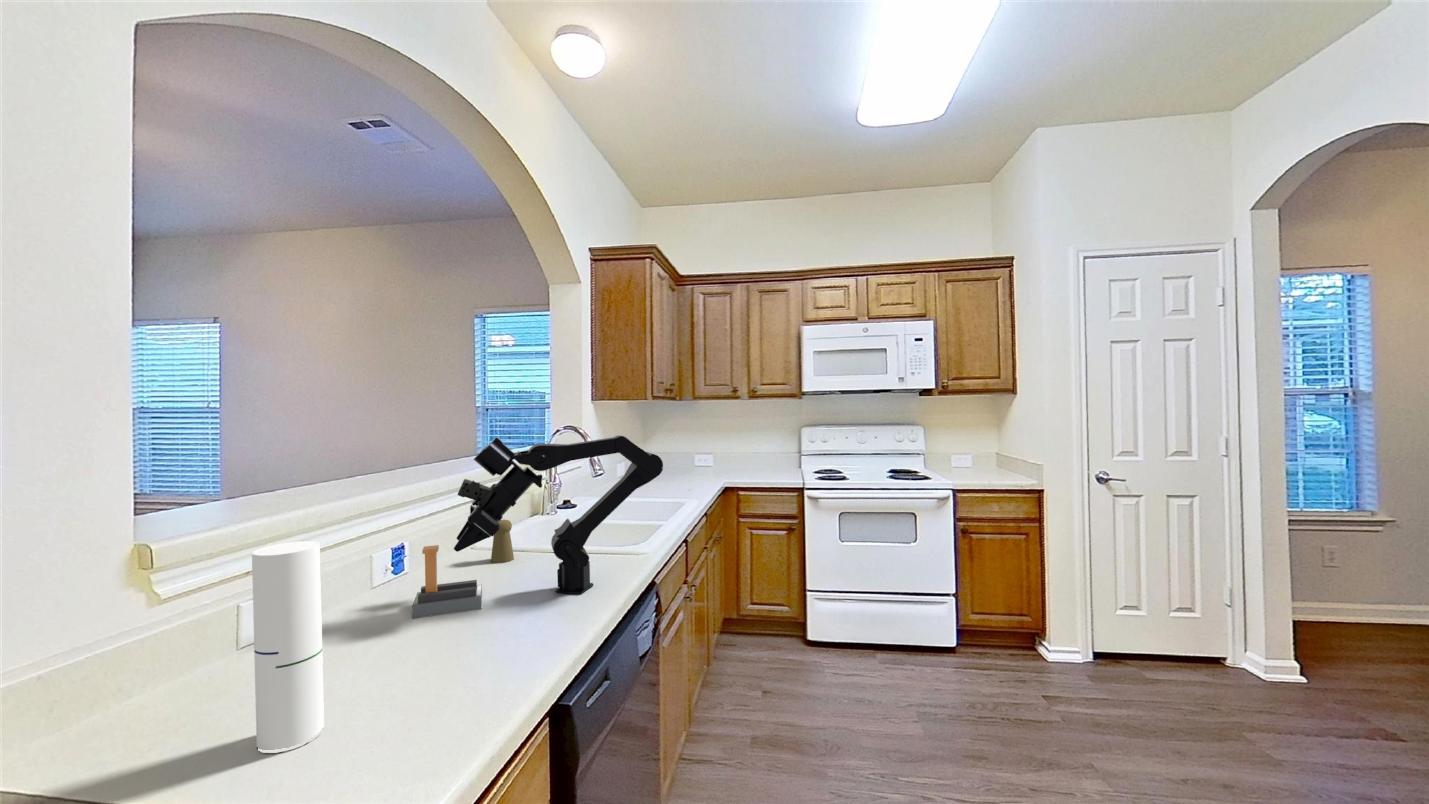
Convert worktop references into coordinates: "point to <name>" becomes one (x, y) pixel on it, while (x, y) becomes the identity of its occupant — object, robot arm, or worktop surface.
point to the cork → (502, 543)
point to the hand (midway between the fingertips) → (456, 544)
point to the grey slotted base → (448, 599)
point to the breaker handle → (430, 567)
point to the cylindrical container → (287, 644)
